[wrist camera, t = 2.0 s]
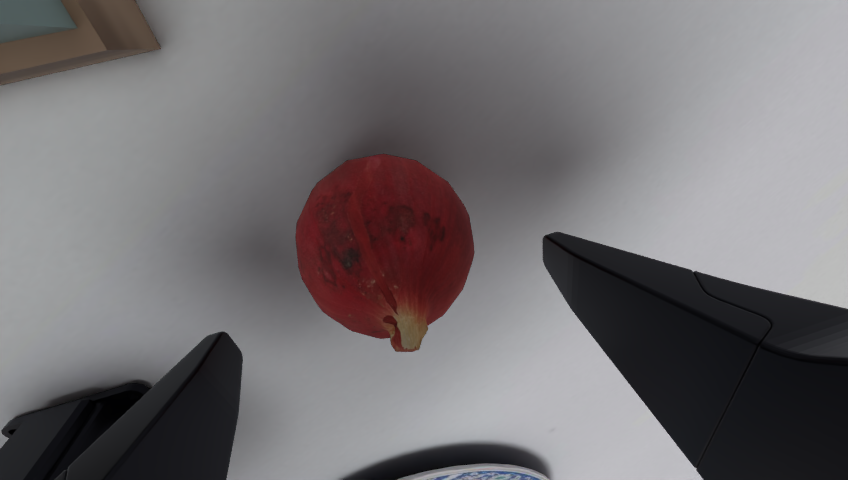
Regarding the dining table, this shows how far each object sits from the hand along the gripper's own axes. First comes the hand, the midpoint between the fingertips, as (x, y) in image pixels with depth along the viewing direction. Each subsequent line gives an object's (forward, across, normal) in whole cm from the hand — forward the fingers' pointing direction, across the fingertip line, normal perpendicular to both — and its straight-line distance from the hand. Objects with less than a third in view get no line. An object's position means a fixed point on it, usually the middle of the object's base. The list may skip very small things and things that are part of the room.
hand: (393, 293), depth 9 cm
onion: (+6, 0, 0) cm, 7 cm away
